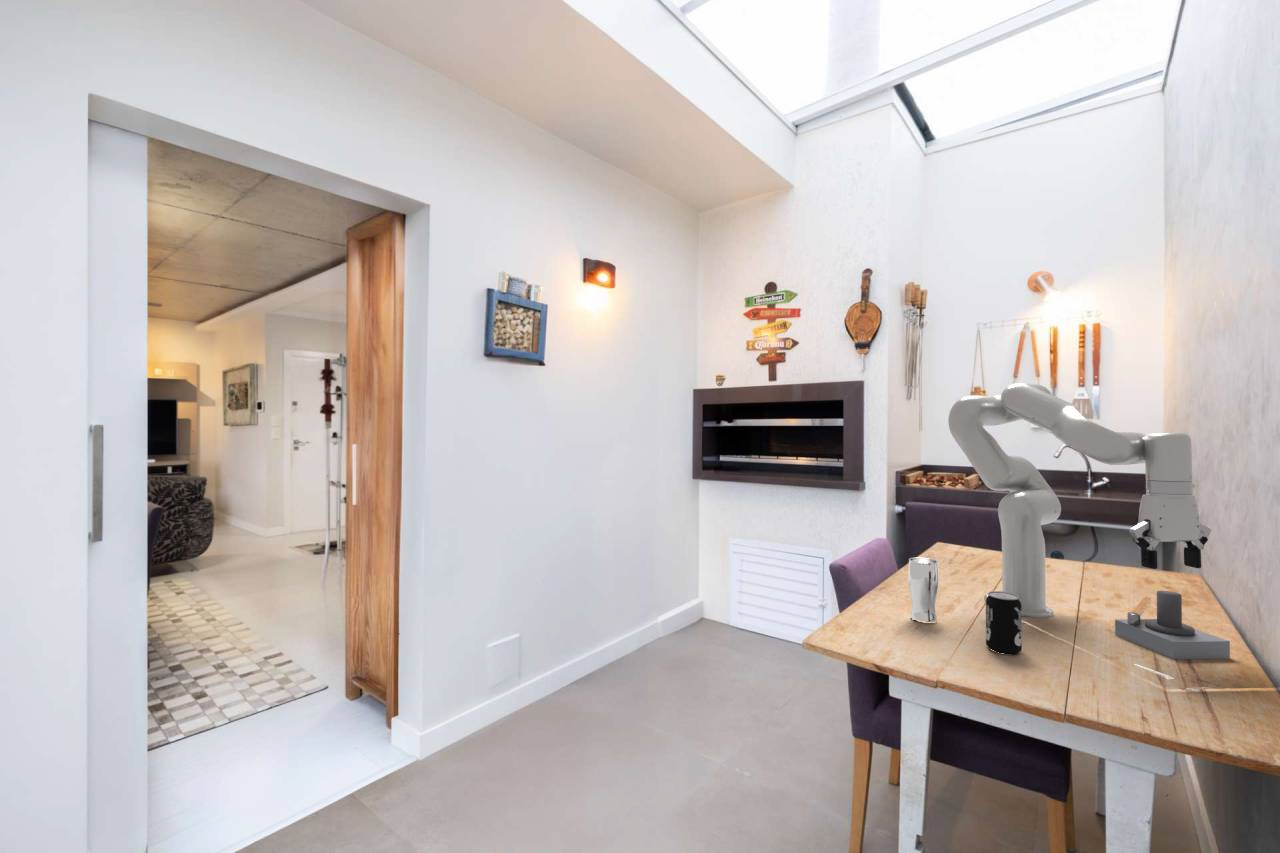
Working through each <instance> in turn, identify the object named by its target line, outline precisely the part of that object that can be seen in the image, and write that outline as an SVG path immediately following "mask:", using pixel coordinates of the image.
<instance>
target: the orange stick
mask: <svg viewBox="0 0 1280 853" xmlns="http://www.w3.org/2000/svg"><path fill="white" fill-rule="evenodd" d="M1151 604H1152V598H1151V597H1148V596H1145V597H1143V599H1142V600H1141V601H1140V602H1139V603H1138V604H1137V605H1136V606H1135V608H1133V609H1132V610H1131V612H1126V613H1127V614H1126V615H1127V618H1126V619H1128V623H1129V624H1132V625H1140V619H1141V616H1142V615H1143V614H1144V612H1146V611H1147V609H1148V607H1149V606H1151Z"/></svg>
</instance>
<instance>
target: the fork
mask: <svg viewBox="0 0 1280 853" xmlns="http://www.w3.org/2000/svg"><path fill="white" fill-rule="evenodd" d="M1133 665H1134V666H1137V667H1139V668H1142V669H1143V670H1146V671H1149V672H1151V673H1153V674H1156V675H1158V676H1161V677H1162V678H1164V679H1166V680H1174V679H1175V678H1174V677H1173V676H1170V675H1169V674H1166V673H1162V672H1159V671H1157V670H1154V669H1152V668H1148V667H1146V666H1144V665H1143V666H1142V665H1140V664H1137V663H1133ZM1175 680H1176V679H1175ZM1210 688H1211V686H1205V687H1204V686H1202V687H1201V686H1199V687H1183V688H1180V687H1179V689H1180V690H1183V691H1184V690H1185V691H1187V690H1188V691H1189V690H1205V689H1210Z"/></svg>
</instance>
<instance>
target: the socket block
mask: <svg viewBox="0 0 1280 853" xmlns="http://www.w3.org/2000/svg"><path fill="white" fill-rule="evenodd" d="M1148 619H1149V618H1142V619H1141V618H1140V625H1132V624H1129V623H1128V618H1126V619H1125V618H1123V619H1118V618H1117V619H1114V620H1115V621H1114V633H1115V636H1117V637H1120V638H1121V639H1124V640H1126V641H1129V642H1131V643H1134V644H1136V645H1138V646H1141V647H1143V648H1146V649H1148V650H1149V651H1152V652H1156V653H1158V654H1160V655H1162V656H1165V657H1167V658H1170V659H1173V660H1200V659H1201V660H1202V659H1203V660H1206V659H1207V660H1209V659H1210V660H1212V659H1213V660H1214V659H1215V660H1218V659H1221V660H1222V659H1225V660H1227V659H1230V658H1231V650H1230V649H1231V648H1230V647H1231V641H1230V640H1228V639H1224V638H1221V637H1218V636H1217V635H1213V634H1210V633H1207V632H1204V631H1201V630H1199V629H1196V628H1194V629H1195V635H1194V636H1175V635H1169V634H1164V633H1160V632H1156V631H1153V630H1150V629H1148V628H1146V627H1145V620H1148Z"/></svg>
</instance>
